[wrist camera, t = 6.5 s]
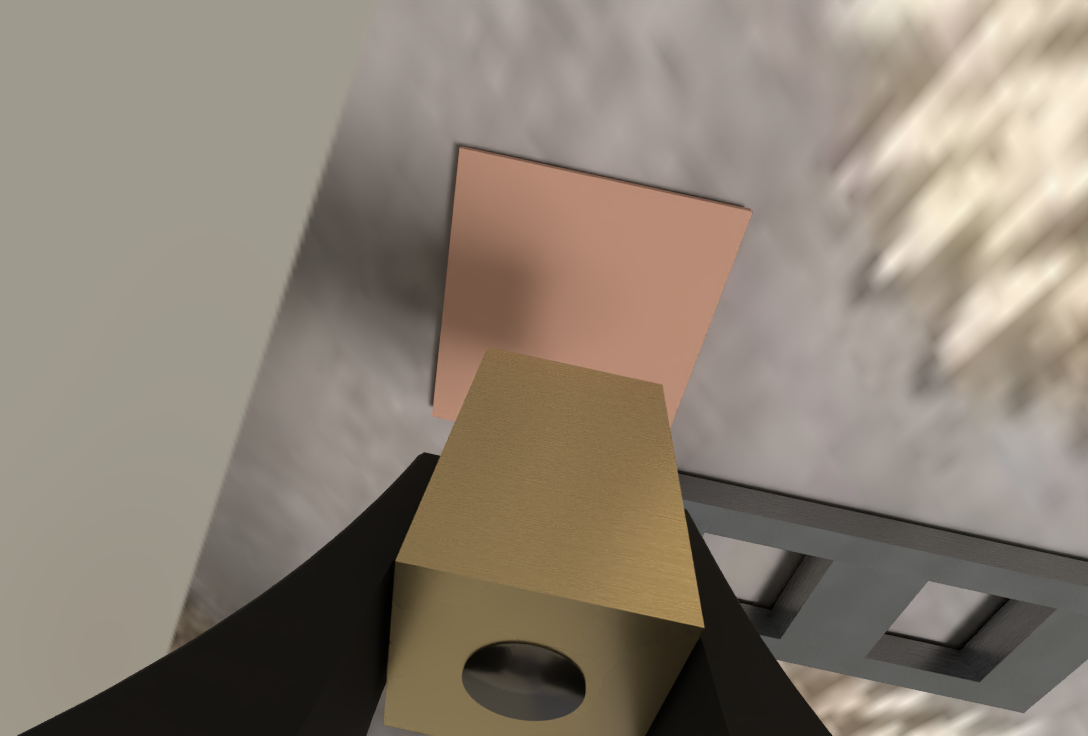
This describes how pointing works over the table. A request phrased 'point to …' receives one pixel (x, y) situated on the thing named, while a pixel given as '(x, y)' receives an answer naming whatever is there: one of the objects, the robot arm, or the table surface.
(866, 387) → the table surface
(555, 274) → the terracotta mat
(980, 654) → the metal rail
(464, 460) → the cube with round inset
